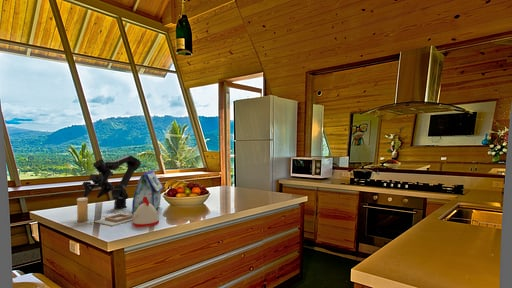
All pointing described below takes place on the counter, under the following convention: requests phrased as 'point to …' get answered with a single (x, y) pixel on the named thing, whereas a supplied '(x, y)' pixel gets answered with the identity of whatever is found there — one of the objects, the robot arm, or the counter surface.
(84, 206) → the beige cylinder
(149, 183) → the lunch bag
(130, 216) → the socket board
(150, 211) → the kitchen timer
